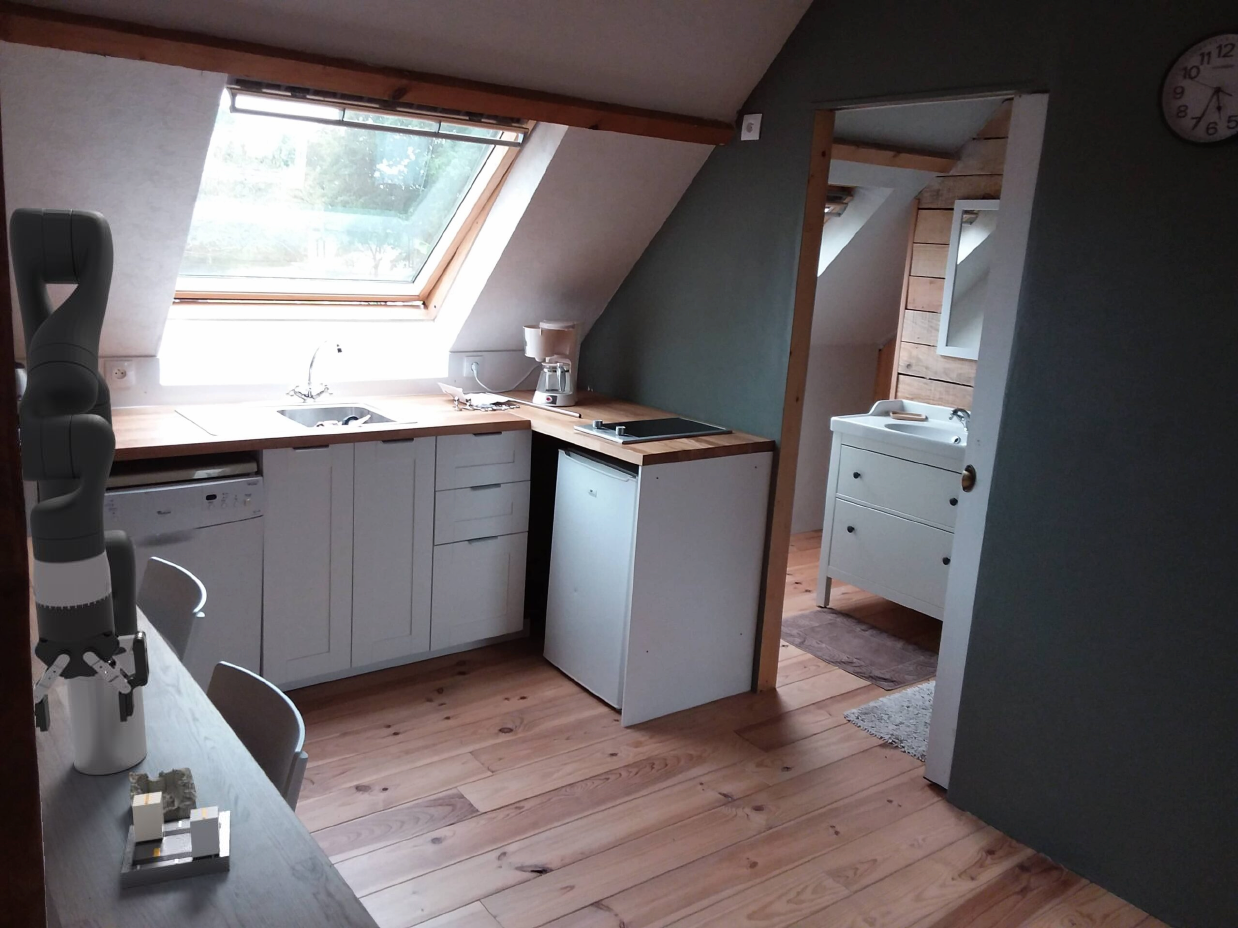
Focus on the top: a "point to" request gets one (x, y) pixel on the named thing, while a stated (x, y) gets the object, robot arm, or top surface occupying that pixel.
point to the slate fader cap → (205, 831)
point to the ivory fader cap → (148, 816)
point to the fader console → (172, 854)
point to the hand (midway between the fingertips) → (85, 723)
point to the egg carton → (168, 791)
